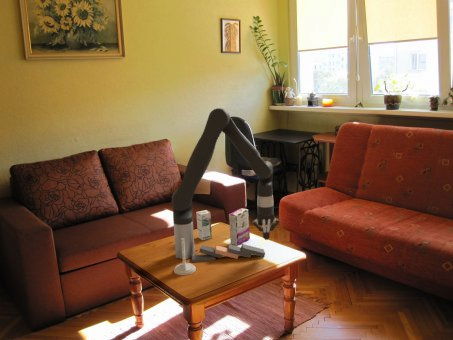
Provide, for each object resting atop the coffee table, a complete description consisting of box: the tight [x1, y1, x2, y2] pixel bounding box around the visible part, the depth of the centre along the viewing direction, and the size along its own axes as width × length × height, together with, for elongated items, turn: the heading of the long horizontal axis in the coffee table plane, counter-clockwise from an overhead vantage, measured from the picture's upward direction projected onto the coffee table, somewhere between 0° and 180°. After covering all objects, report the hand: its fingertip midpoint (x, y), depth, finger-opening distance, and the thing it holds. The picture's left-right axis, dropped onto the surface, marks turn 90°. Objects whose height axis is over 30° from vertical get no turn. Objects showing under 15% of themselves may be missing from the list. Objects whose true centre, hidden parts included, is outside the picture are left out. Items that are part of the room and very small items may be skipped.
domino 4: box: [227, 244, 253, 259], centre depth 226 cm, size 2×5×11 cm
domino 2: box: [198, 244, 224, 259], centre depth 227 cm, size 2×5×11 cm
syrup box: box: [195, 209, 213, 241], centre depth 251 cm, size 6×6×14 cm
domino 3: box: [214, 245, 240, 260], centre depth 226 cm, size 2×5×11 cm
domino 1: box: [191, 254, 216, 263], centre depth 226 cm, size 2×5×11 cm
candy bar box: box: [228, 208, 251, 247], centre depth 243 cm, size 11×5×16 cm, turn 143°
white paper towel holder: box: [173, 238, 197, 276], centre depth 213 cm, size 10×10×15 cm
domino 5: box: [240, 243, 266, 258], centre depth 226 cm, size 2×5×11 cm
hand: (266, 239), depth 225 cm, fingers closed
